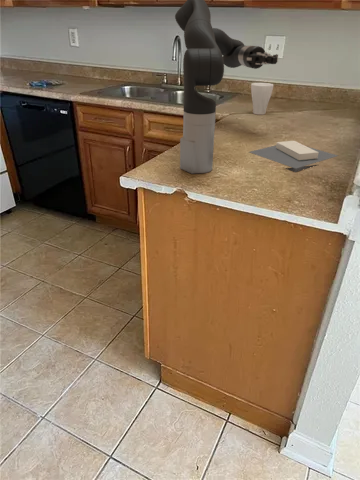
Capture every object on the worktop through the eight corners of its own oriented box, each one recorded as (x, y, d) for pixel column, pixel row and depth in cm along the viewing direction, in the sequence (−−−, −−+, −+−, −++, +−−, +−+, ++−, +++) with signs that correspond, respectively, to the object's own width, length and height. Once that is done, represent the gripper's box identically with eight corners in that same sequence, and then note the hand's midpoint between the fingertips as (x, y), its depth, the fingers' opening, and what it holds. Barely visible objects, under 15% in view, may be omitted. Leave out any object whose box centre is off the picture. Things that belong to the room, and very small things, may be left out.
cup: (269, 116, 182) (273, 86, 175) (247, 115, 183) (250, 85, 177) (269, 111, 191) (273, 83, 184) (248, 110, 192) (251, 82, 186)
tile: (276, 142, 131) (299, 154, 120) (294, 140, 133) (318, 152, 122) (275, 148, 132) (298, 161, 121) (293, 146, 134) (317, 159, 123)
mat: (295, 172, 115) (295, 168, 115) (248, 155, 129) (248, 151, 129) (337, 159, 127) (338, 155, 126) (290, 144, 141) (290, 141, 140)
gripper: (236, 45, 140) (258, 48, 126) (268, 45, 143) (293, 48, 129) (234, 68, 144) (256, 73, 129) (265, 67, 147) (290, 72, 133)
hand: (274, 60), depth 129 cm, fingers closed
